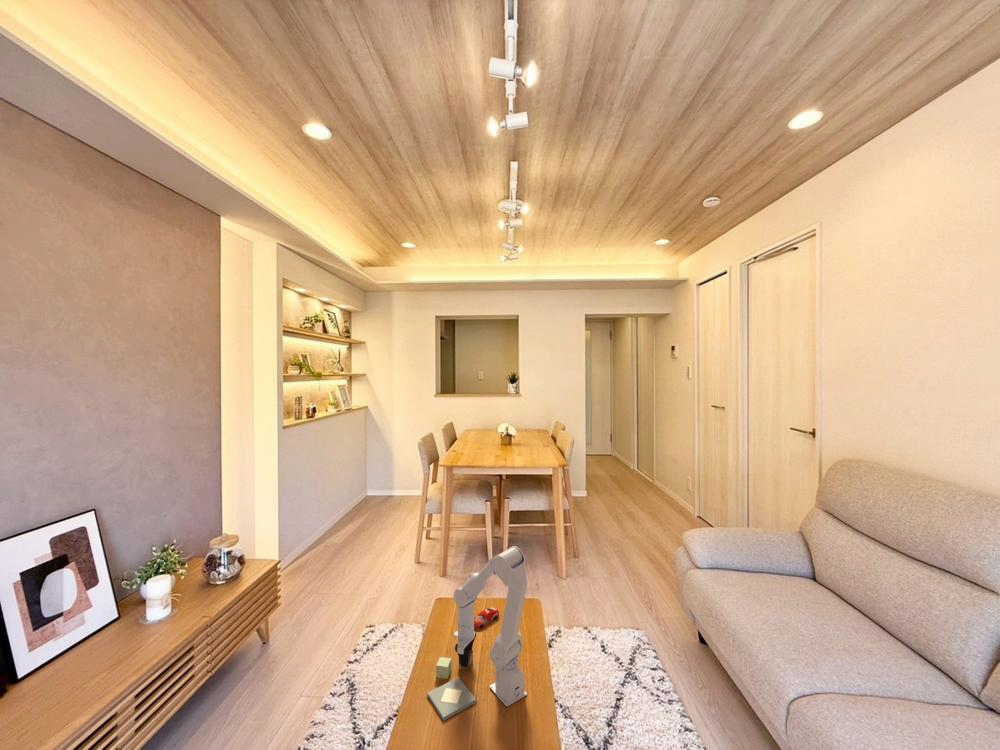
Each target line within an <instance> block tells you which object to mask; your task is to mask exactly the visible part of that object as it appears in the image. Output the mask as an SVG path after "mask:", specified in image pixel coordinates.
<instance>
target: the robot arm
mask: <svg viewBox="0 0 1000 750" xmlns="http://www.w3.org/2000/svg"><path fill="white" fill-rule="evenodd" d="M526 562H527V558H526V556H525V555H524V553H523V551H522V550H521V548H520V547H518V546H516V545H513V546H510V547H509V548H507V549H506V550H504V551H502V552H501V553H499V554H495V555H494V556H493V557H492V558H491V559H489V561H488V562H487V563H486V564H485V565H484V566H483V568H482V569H481V570H480V571H479V572H472V573H470V575H468V579H467V580H465V581H463V583H462V586H460V587H459V588H456V589H455V591H454V592H453V600H454V602H455V604H456V605H457V606H456V609H457V612H456V613H457V614H456V616H457V618H456V620H457V623H456V625H457V627H456V628H457V629H456V631H455V632H454V634H453V635H454V636H453V637H454V638H456V639H457V640H456V641H457V643H456V644H455V646H454V651H455V652H456V654H457V656H458V661H459V660H460V664H461V666H463V667H467V665H468V660H469V653H470V651H471V650H473V647H474V646H473V645H474V642H475V639H476V638H477V633H476V632H475V628H474V618H475V605H476V600H477V599H478V595H480V593H481V592H482V591H484V589H485V588H486V587H487V581H488V580H489V579H490V578H491V577H492V576H494V575H496V576H497V577H498V579H500V581H501V582H502V583H503V584H504V586H505V587H508V588H507V594H506V600H505V605H504V606H505V607H504V611H503V617H502V623H501V628H500V632H499V633H498V635H497V636H496V639H495V641H494V644H493V646H492V647H491V648H490V652H489V655H490V661H491V662H492V664H493V666H494V670H495V671H494V676H495V677H494V680H495V681H494V683H492V684H490V685H489V689H490V690H491V691H492V692H493V693H494V695H496V697H497V698H498V699H499V700H500V701H501V702H502V704H504V705H505V706H506V707H509V706H511V705H512V704H514V703H516V702H518V701H519V700H521V699H522V698H524V697H525V696H527V695H528V694H527V691H525V689H526V688H525V680H526V679H525V674H524V672H523V671H522V670H521V668H520V666H519V661H518V660H519V658H520V653H521V652H522V651H523V643H522V637H523V635H522V634H521V632H520V629H519V628H520V624H521V619H522V614H523V608H524V604H525V603H524V602H525V598H526V591H527V588H528V580H527V573H526V572H527V571H526Z"/></svg>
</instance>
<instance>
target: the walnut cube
mask: <svg viewBox="0 0 1000 750" xmlns="http://www.w3.org/2000/svg"><path fill="white" fill-rule="evenodd" d="M473 663H474V650H473V649H472V650H471V651H470V653H469V660H468V665H467V667H463V666H461V664H460V660H459V659H458V669H459V670H465V671H471V669H472V666H473Z"/></svg>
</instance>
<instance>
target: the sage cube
mask: <svg viewBox="0 0 1000 750" xmlns="http://www.w3.org/2000/svg"><path fill="white" fill-rule="evenodd" d="M451 672H452V658H451V657H441V656H440V657H439V659H438V661H437V663H436V665H435V678H437V679H439V678H440V679H445V680H448V679H449V677H450V674H451Z"/></svg>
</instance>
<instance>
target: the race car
mask: <svg viewBox="0 0 1000 750" xmlns="http://www.w3.org/2000/svg"><path fill="white" fill-rule="evenodd" d="M499 612H500V611H499V610H498V608H496V607H493V606H492V607H491V606H490V607H488V608H485V609H483V610H481V611H480V612H478V613H477V615H476V616H474V630H475V629H476V630H482V629H483V628H484V627H486V626H488V625H490V624H491V623H493V622H494V621H496V620H497V619H498V618H499V617H500V613H499Z"/></svg>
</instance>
